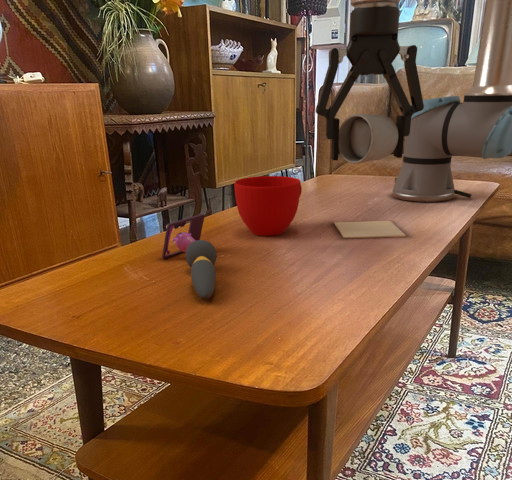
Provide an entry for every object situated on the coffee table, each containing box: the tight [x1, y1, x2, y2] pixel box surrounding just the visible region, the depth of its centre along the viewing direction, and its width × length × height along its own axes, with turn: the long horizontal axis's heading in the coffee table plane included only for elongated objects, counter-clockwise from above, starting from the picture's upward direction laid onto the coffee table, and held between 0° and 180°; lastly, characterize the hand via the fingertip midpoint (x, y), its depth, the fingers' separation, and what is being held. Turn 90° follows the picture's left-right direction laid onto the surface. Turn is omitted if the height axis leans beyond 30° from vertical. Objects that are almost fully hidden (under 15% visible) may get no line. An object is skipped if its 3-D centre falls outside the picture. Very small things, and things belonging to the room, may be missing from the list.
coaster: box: [333, 220, 407, 239], centre depth 105 cm, size 12×12×1 cm
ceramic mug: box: [338, 113, 399, 165], centre depth 89 cm, size 11×8×8 cm
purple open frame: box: [161, 213, 206, 260], centre depth 91 cm, size 7×5×9 cm
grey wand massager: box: [185, 239, 218, 300], centre depth 79 cm, size 20×5×5 cm, turn 12°
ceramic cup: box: [233, 175, 303, 237], centre depth 105 cm, size 13×17×10 cm
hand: (366, 158), depth 90 cm, fingers closed on ceramic mug, 10 cm apart
